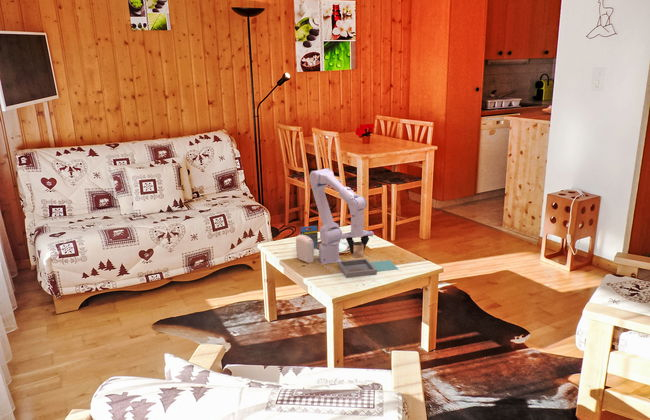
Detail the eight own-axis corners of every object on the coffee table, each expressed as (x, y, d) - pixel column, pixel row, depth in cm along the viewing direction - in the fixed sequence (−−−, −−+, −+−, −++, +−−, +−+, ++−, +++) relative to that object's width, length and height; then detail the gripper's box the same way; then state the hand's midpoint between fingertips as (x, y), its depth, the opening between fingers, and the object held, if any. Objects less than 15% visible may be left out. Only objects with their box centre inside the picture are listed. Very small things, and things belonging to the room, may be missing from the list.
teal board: (375, 272, 231) (375, 271, 231) (367, 263, 241) (367, 262, 241) (398, 270, 234) (398, 269, 234) (389, 261, 244) (389, 260, 244)
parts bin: (346, 278, 225) (346, 273, 225) (338, 266, 238) (337, 261, 238) (376, 275, 229) (376, 269, 228) (366, 263, 242) (366, 258, 241)
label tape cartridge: (316, 245, 265) (315, 223, 261) (318, 248, 261) (317, 225, 258) (299, 247, 262) (298, 224, 259) (301, 250, 259) (300, 227, 255)
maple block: (353, 258, 229) (354, 245, 227) (350, 254, 233) (351, 242, 231) (363, 257, 230) (363, 244, 228) (360, 253, 234) (360, 241, 232)
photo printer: (295, 257, 249) (294, 233, 246) (302, 255, 252) (301, 232, 248) (308, 264, 241) (307, 239, 238) (315, 261, 244) (314, 237, 240)
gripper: (344, 228, 222) (344, 257, 226) (375, 225, 225) (375, 253, 229) (339, 223, 228) (339, 251, 232) (370, 220, 232) (370, 248, 236)
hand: (357, 252), depth 231 cm, fingers closed on maple block, 4 cm apart
